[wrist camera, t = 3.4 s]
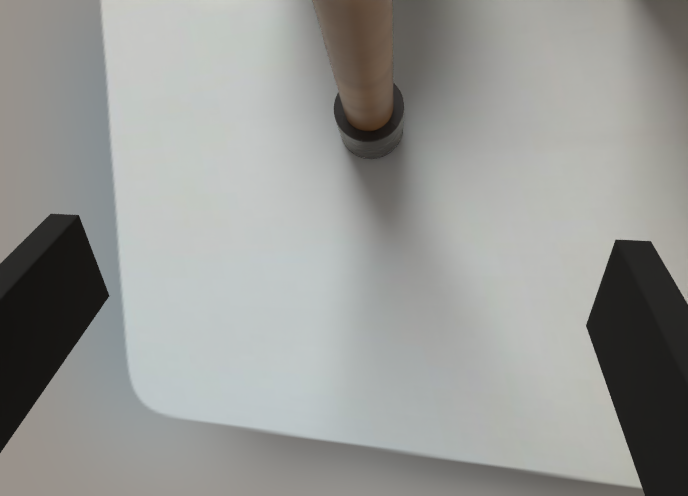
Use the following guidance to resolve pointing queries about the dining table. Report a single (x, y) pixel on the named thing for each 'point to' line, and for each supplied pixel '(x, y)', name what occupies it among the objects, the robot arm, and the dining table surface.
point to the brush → (363, 73)
